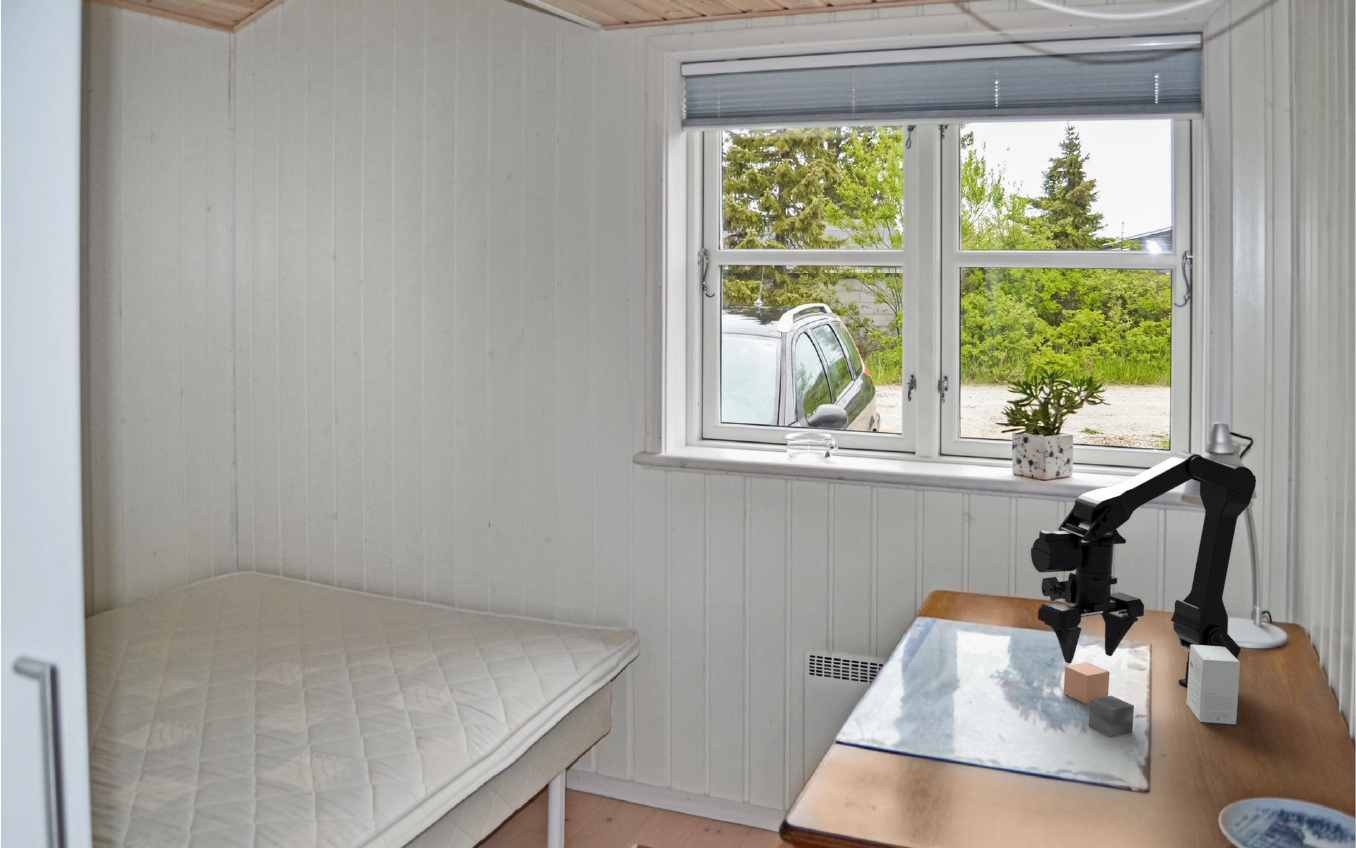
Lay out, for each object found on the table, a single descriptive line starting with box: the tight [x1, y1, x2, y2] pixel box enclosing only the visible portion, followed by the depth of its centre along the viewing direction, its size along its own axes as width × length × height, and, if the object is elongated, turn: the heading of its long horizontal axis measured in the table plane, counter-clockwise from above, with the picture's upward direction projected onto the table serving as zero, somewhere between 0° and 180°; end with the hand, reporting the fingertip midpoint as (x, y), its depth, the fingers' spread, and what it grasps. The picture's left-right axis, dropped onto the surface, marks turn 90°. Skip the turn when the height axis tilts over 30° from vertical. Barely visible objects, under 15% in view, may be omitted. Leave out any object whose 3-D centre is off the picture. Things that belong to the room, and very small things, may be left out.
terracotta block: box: [1063, 661, 1110, 704], centre depth 181 cm, size 5×5×5 cm
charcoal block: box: [1088, 695, 1135, 738], centre depth 167 cm, size 4×4×4 cm
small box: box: [1185, 645, 1241, 725], centre depth 173 cm, size 8×6×10 cm
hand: (1088, 659), depth 181 cm, fingers open, 9 cm apart
